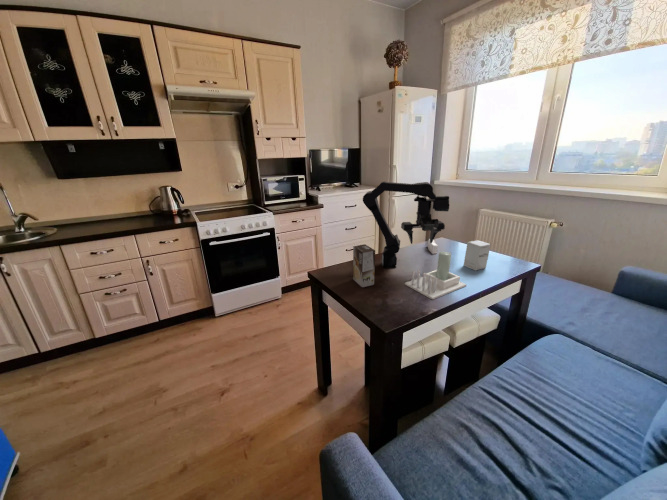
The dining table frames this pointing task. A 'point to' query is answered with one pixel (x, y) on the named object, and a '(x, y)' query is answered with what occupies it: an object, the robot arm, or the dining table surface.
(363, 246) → the coffee box
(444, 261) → the sage green domed cylinder
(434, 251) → the napkin holder
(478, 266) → the supplement box
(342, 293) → the dining table surface
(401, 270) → the dining table surface
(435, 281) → the dish drying rack
